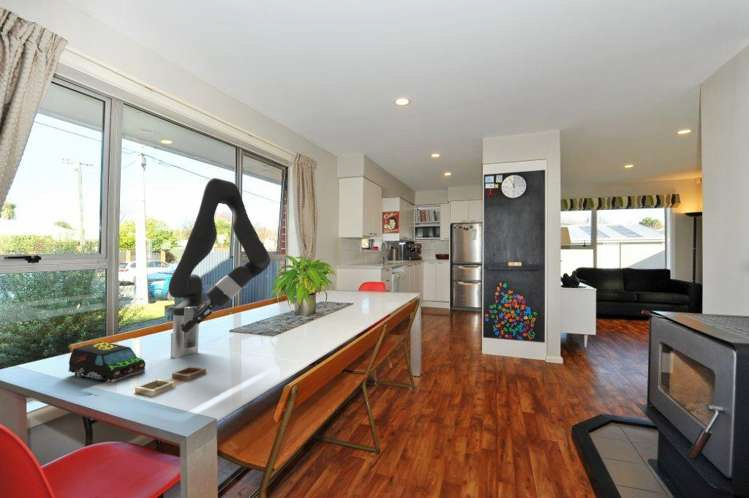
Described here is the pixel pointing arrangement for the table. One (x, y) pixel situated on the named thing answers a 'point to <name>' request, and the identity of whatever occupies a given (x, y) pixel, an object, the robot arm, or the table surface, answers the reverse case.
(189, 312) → the grey tall bar
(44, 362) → the table surface
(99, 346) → the toy van
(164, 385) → the wooden trays
